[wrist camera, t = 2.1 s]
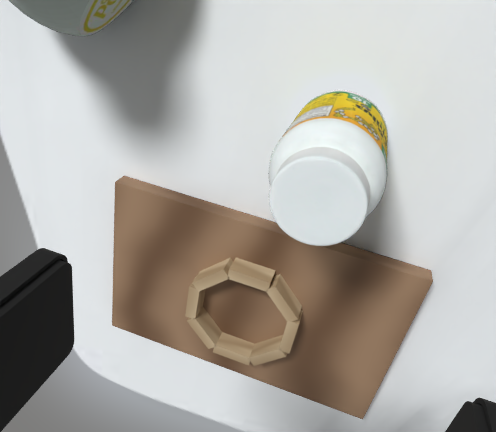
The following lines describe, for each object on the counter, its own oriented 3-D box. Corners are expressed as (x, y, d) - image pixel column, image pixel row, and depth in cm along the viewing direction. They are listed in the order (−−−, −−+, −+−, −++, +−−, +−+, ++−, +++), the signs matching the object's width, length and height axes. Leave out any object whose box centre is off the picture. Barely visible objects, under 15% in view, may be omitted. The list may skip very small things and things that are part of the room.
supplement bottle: (280, 112, 26) (228, 168, 17) (366, 71, 23) (352, 113, 15) (317, 189, 27) (286, 274, 19) (402, 158, 25) (407, 239, 17)
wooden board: (431, 270, 27) (434, 296, 25) (363, 406, 34) (361, 436, 32) (124, 175, 31) (102, 190, 29) (119, 316, 38) (102, 337, 36)
